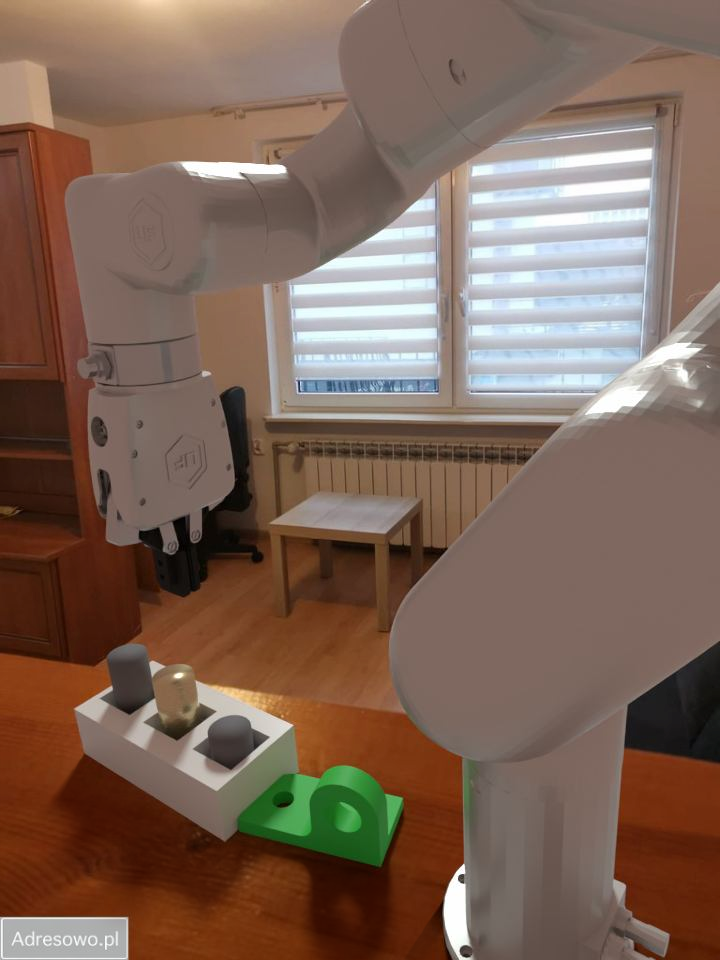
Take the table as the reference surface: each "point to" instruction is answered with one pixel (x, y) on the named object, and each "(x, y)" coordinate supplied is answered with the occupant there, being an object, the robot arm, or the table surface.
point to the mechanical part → (327, 814)
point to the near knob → (230, 740)
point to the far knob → (130, 677)
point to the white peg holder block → (188, 755)
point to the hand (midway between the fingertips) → (180, 588)
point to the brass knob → (176, 700)
